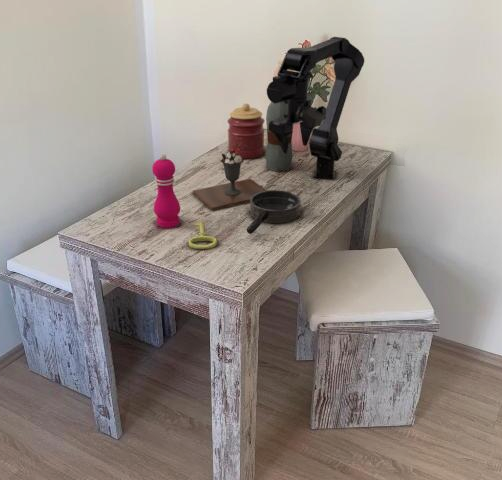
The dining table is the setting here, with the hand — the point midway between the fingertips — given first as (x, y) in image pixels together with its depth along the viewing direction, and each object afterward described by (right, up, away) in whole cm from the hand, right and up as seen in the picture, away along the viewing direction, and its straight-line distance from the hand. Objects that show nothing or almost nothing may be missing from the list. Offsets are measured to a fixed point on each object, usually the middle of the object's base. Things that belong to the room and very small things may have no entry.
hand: (295, 149), depth 173 cm
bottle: (-3, -1, +23) cm, 24 cm away
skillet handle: (-12, -25, -18) cm, 33 cm away
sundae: (-19, -13, +3) cm, 23 cm away
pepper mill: (-36, -24, -12) cm, 45 cm away
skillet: (-7, -20, -7) cm, 22 cm away
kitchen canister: (-14, +6, +35) cm, 39 cm away
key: (-27, -29, -21) cm, 44 cm away
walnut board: (-19, -13, +4) cm, 23 cm away
